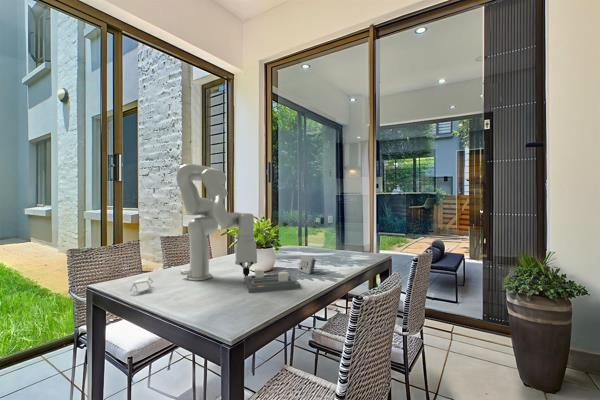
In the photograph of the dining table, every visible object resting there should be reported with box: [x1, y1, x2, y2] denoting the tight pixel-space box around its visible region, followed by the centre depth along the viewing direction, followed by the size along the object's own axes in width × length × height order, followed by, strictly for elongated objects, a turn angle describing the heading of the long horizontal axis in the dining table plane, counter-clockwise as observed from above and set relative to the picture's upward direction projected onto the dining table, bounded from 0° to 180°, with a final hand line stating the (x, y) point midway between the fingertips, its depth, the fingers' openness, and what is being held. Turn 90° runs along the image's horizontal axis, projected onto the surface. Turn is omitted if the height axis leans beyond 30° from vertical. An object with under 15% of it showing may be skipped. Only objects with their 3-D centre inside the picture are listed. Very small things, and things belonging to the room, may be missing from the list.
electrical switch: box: [298, 254, 317, 275], centre depth 175 cm, size 9×5×9 cm, turn 41°
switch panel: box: [243, 273, 301, 294], centre depth 151 cm, size 24×20×3 cm
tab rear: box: [254, 268, 265, 278], centre depth 154 cm, size 4×3×4 cm
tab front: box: [277, 271, 289, 282], centre depth 148 cm, size 4×3×4 cm
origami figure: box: [129, 276, 154, 294], centre depth 141 cm, size 12×8×5 cm
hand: (246, 275), depth 152 cm, fingers closed
